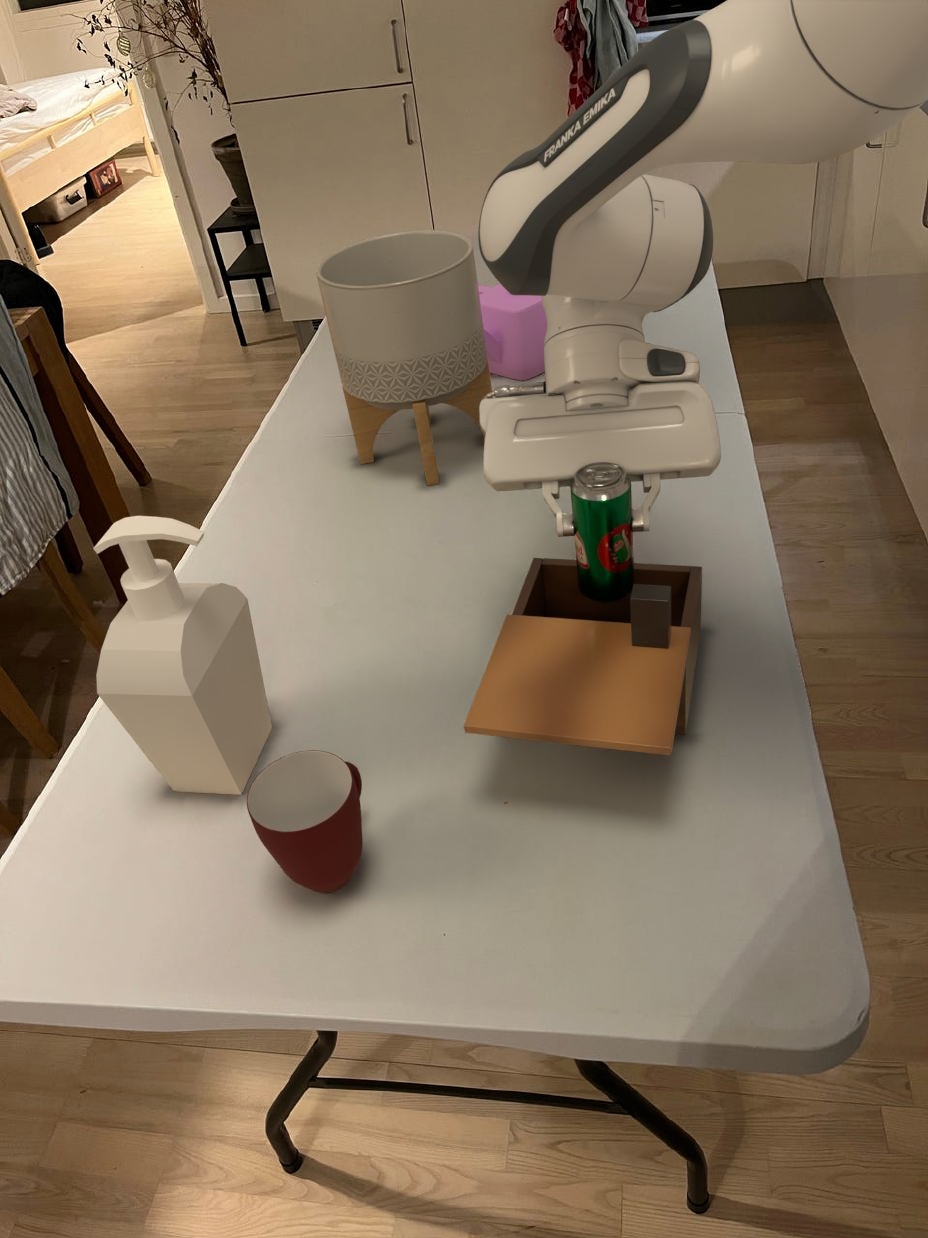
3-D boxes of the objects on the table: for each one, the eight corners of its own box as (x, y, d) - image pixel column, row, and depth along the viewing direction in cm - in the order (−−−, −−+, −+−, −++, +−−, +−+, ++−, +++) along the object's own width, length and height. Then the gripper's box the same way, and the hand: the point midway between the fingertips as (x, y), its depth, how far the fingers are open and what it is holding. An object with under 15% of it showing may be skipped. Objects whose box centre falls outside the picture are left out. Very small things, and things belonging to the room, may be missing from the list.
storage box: (700, 632, 94) (702, 566, 89) (685, 735, 84) (686, 667, 79) (540, 620, 99) (533, 557, 94) (507, 717, 89) (497, 651, 84)
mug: (314, 804, 84) (285, 722, 77) (401, 815, 81) (379, 731, 75) (263, 907, 76) (227, 825, 70) (358, 923, 73) (329, 840, 67)
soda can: (579, 573, 90) (570, 460, 83) (635, 571, 89) (630, 457, 82) (577, 607, 86) (567, 492, 79) (635, 605, 85) (630, 489, 78)
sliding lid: (690, 634, 81) (691, 579, 78) (671, 755, 71) (670, 699, 68) (507, 621, 86) (500, 568, 83) (464, 732, 76) (454, 678, 72)
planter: (359, 429, 138) (317, 245, 122) (490, 407, 138) (465, 220, 122) (360, 497, 123) (313, 297, 107) (506, 472, 123) (480, 268, 107)
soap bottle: (261, 814, 83) (162, 573, 67) (155, 808, 86) (36, 574, 70) (304, 713, 93) (226, 481, 77) (208, 710, 95) (113, 484, 79)
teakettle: (573, 329, 155) (568, 251, 148) (587, 373, 142) (582, 290, 134) (469, 344, 156) (458, 268, 149) (473, 390, 143) (461, 308, 135)
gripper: (472, 375, 83) (478, 534, 82) (717, 353, 80) (728, 517, 78) (483, 399, 89) (488, 547, 88) (710, 379, 86) (720, 532, 85)
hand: (603, 533), depth 83 cm, fingers closed on soda can, 5 cm apart
